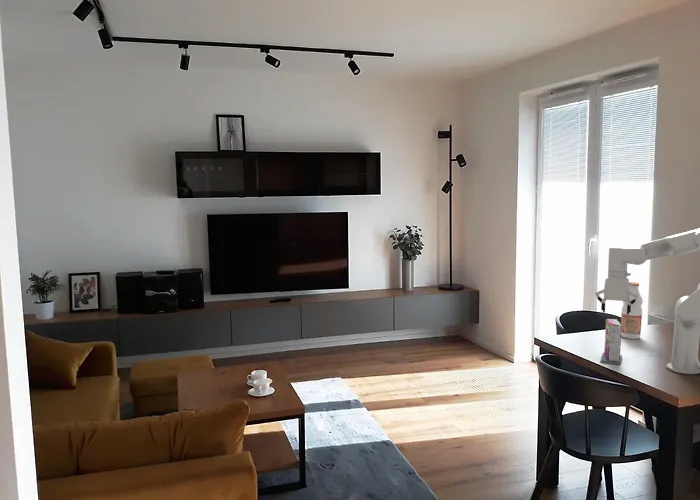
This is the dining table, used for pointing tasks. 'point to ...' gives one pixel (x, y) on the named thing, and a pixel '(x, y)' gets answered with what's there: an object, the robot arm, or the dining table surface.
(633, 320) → the fruit juice
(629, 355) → the dining table surface
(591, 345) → the dining table surface
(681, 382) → the dining table surface
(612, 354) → the candy bar box
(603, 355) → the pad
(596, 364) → the dining table surface
